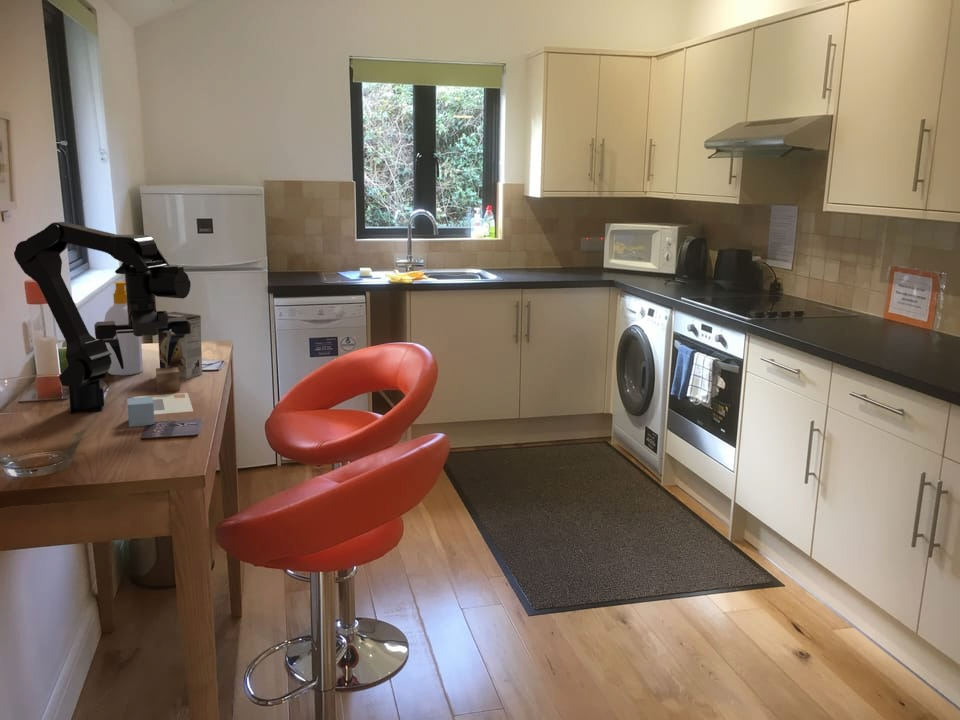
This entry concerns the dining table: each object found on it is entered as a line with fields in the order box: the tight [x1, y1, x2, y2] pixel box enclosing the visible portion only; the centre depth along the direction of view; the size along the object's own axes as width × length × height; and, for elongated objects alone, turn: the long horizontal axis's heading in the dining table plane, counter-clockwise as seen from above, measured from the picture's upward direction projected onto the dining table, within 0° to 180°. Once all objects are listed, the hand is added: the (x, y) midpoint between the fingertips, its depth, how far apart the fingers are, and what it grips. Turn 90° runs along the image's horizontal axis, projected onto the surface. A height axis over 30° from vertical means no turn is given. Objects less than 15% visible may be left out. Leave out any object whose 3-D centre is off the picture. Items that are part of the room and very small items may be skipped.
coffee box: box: [157, 311, 203, 379], centre depth 213 cm, size 9×6×16 cm
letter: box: [133, 392, 194, 415], centre depth 189 cm, size 12×16×1 cm
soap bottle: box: [103, 281, 144, 377], centre depth 214 cm, size 9×9×24 cm
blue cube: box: [126, 397, 155, 427], centre depth 175 cm, size 5×5×5 cm
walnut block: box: [155, 367, 181, 393], centre depth 201 cm, size 5×5×5 cm
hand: (145, 367), depth 177 cm, fingers open, 9 cm apart
